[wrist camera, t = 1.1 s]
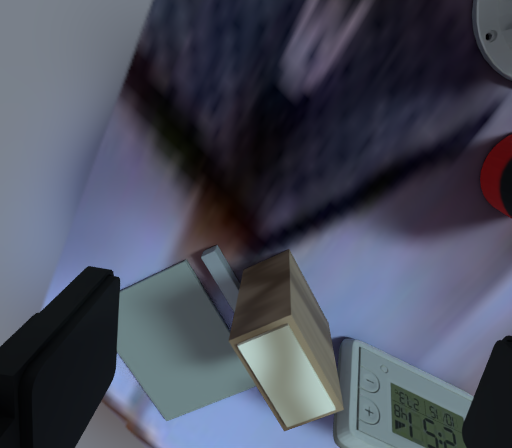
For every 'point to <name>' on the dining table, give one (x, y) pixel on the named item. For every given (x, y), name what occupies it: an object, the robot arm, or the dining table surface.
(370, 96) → the dining table surface
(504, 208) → the soda can
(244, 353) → the block
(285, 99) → the dining table surface
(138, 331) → the mat
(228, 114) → the dining table surface
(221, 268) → the rail
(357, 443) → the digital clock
